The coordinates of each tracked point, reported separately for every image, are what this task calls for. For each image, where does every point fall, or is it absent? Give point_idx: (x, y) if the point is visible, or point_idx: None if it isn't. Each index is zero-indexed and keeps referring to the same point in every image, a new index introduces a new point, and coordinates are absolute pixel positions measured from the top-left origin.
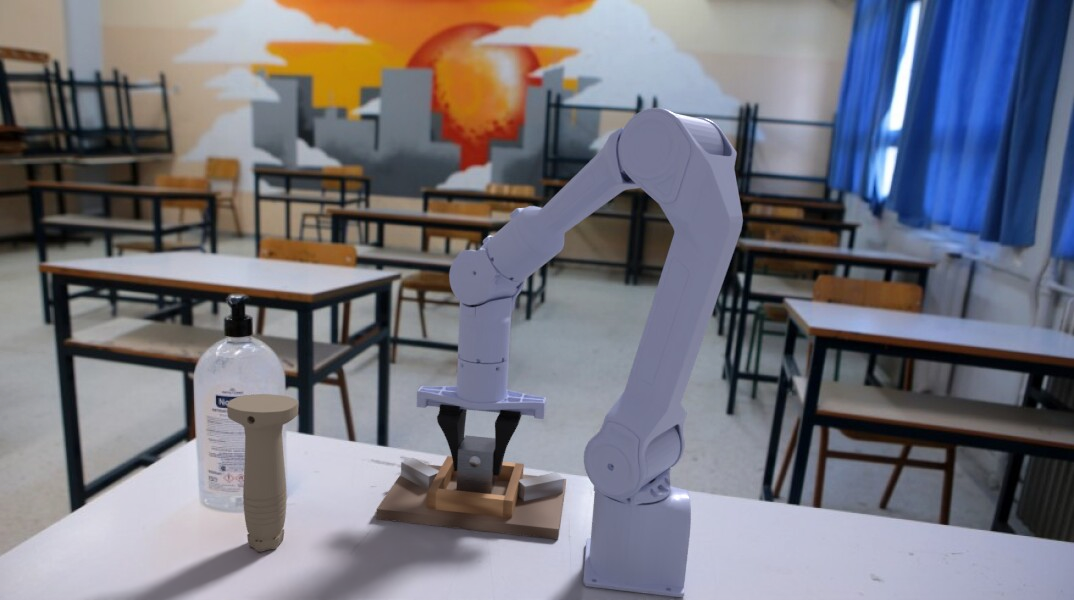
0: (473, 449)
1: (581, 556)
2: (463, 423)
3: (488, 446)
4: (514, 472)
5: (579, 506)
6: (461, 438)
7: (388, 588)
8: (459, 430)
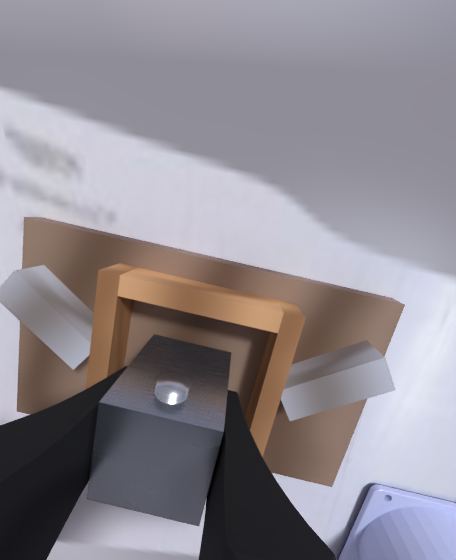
0: (135, 504)
1: (351, 507)
2: (49, 483)
3: (183, 485)
4: (273, 366)
5: (397, 372)
6: (83, 456)
7: (91, 540)
8: (45, 541)
